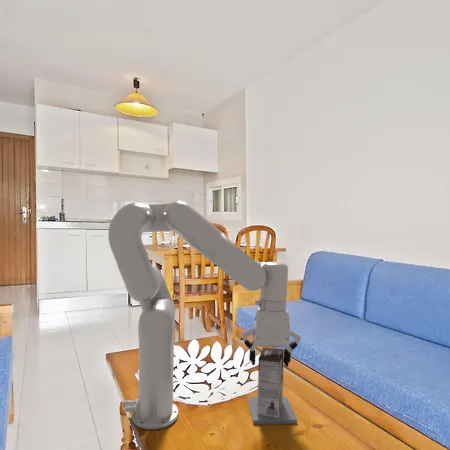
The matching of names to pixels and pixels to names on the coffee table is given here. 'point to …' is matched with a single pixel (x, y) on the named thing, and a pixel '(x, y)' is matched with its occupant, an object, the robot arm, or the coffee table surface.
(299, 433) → the coffee table surface
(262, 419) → the slate tile
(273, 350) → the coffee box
